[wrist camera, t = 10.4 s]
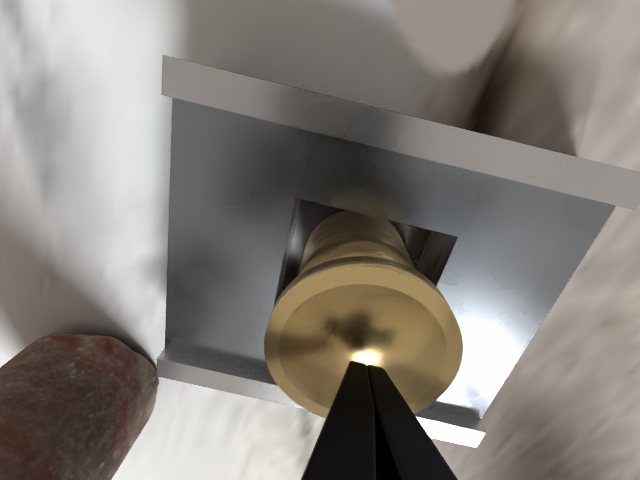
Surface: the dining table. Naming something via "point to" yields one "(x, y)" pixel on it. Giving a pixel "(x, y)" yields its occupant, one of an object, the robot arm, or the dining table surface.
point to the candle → (72, 407)
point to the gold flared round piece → (360, 317)
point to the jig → (370, 199)
